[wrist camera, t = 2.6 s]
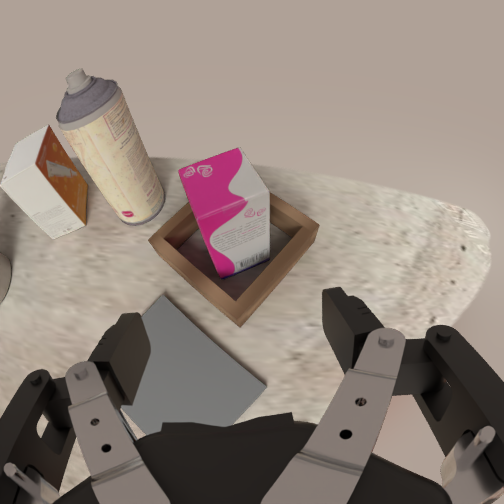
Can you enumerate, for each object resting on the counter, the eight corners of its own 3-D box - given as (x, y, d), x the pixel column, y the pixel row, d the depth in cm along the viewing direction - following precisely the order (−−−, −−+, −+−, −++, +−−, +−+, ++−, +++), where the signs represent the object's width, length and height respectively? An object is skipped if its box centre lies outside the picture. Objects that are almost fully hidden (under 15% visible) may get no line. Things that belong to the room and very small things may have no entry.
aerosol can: (124, 185, 36) (63, 67, 18) (169, 181, 36) (120, 47, 18) (112, 226, 33) (28, 106, 15) (160, 224, 33) (88, 83, 15)
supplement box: (248, 218, 33) (242, 144, 23) (270, 260, 30) (273, 193, 20) (201, 236, 32) (176, 167, 22) (220, 281, 30) (197, 222, 19)
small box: (87, 226, 34) (34, 163, 22) (52, 240, 33) (-3, 186, 21) (89, 184, 37) (49, 122, 25) (57, 198, 36) (14, 143, 25)
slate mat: (94, 371, 25) (91, 371, 25) (164, 296, 29) (163, 294, 28) (185, 468, 21) (184, 470, 20) (267, 386, 25) (267, 387, 24)
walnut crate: (158, 254, 31) (147, 240, 28) (231, 186, 35) (229, 167, 32) (240, 327, 27) (236, 319, 24) (314, 241, 31) (319, 224, 28)
